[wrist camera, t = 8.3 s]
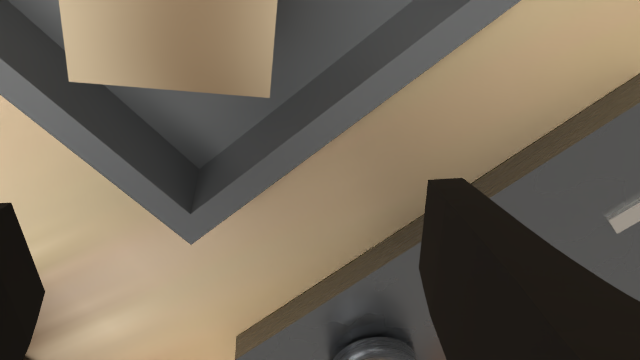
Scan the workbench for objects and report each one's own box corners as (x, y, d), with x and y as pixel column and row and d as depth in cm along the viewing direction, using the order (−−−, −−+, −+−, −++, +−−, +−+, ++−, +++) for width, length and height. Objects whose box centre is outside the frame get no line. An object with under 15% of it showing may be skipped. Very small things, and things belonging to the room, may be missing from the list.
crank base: (436, 480, 31) (443, 507, 29) (236, 337, 23) (234, 364, 22) (764, 323, 25) (788, 347, 24) (640, 73, 18) (666, 90, 17)
